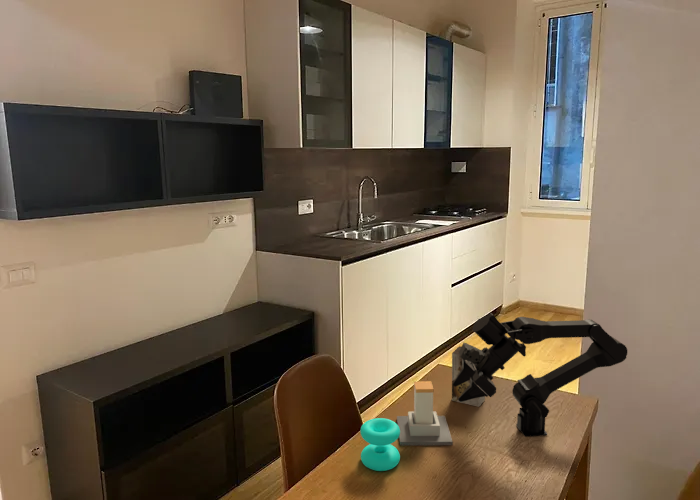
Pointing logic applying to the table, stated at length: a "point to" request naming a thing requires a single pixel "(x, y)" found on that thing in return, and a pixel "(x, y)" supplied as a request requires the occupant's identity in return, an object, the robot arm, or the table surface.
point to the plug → (423, 402)
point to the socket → (424, 431)
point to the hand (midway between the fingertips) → (456, 392)
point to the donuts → (380, 444)
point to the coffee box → (461, 388)
